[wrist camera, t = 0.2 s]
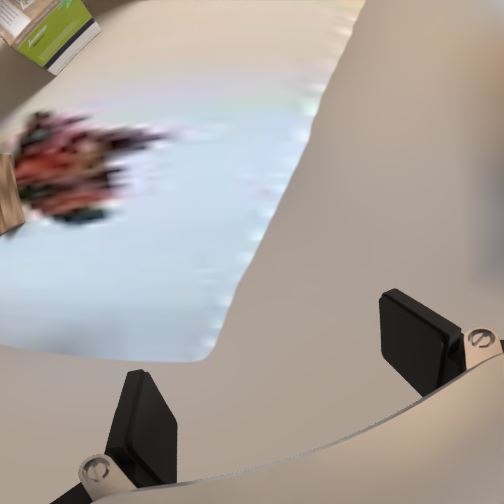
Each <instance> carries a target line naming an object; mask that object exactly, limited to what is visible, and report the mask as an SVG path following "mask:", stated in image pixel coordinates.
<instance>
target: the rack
mask: <svg viewBox="0 0 504 504" xmlns="http://www.w3.org/2000/svg"><path fill="white" fill-rule="evenodd" d="M24 222H25V218H24V214H23V210H22V206H21V202H20V198H19V194H18V189H17V184H16V180H15V174H14V169H13V163H12V157H11V155H3V154H0V234H2V233H4V232H6V231H8V230H10V229H12V228H14V227H16V226H18V225H20V224H22V223H24Z"/></svg>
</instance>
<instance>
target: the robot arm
mask: <svg viewBox="0 0 504 504" xmlns="http://www.w3.org/2000/svg"><path fill="white" fill-rule="evenodd" d="M379 309H380V329H381V352H382V355H383V357H384V359H385V360H386V361H387V362H388V363H389V364H390V365H391V366H392V367H393V368H394V369H395V370H396V371H397V372H398V373H400V375H401V376H402V377H403V378H404V379H405V380H406V381H407V382H408V383H409V384H410V385H411V386H412V387H413V388H414V389H415V390H416V391H417V392H418V393H419V394H420V395H421V396H422V397H423V398H421V399H420V400H418V401H416V402H415V403H413V404H411V405H409V406H408V407H406V408H404V409H402V410H400V411H398V412H397V413H395V414H393V415H391V416H389V417H387V418H385V419H383V420H381V421H379V422H377V423H375V424H373V425H371V426H369V427H366V428H364V429H362V430H360V431H358V432H356V433H353V434H351V435H349V436H346V437H344V438H342V439H339V440H337V441H334V442H332V443H330V444H327V445H324V446H322V447H319V448H316V449H314V450H311V451H308V452H305V453H302V454H299V455H296V456H293V457H290V458H287V459H284V460H281V461H277V462H274V463H270V464H267V465H264V466H260V467H256V468H252V469H248V470H244V471H240V472H235V473H231V474H226V475H221V476H216V477H211V478H206V479H200V480H194V481H188V482H182V483H177V422H176V419H175V417H174V416H173V414H172V412H171V411H170V409H169V407H168V406H167V404H166V402H165V400H164V399H163V397H162V395H161V394H160V392H159V390H158V388H157V386H156V385H155V383H154V381H153V379H152V377H151V375H150V374H149V373H148V372H144V371H143V370H142V369H139V370H135V371H130V372H128V373H127V376H126V379H125V383H124V386H123V389H122V392H121V396H120V400H119V403H118V406H117V409H116V411H115V415H114V418H113V422H112V426H111V430H110V433H109V437H108V441H107V445H106V449H105V453H104V454H97V455H93V456H91V457H89V458H87V459H86V460H85V461H84V462H83V463H82V464H81V466H80V468H79V471H78V476H79V479H80V481H81V482H80V483H79V484H77V485H76V486H75V487H73V488H72V489H70V490H69V491H68V492H66V493H65V494H63V495H62V496H60V497H59V498H58V499H56V500H55V501H53V502H52V503H50V504H504V340H500V339H499V336H498V334H497V332H496V331H494V330H493V329H491V328H489V327H482V326H481V327H480V326H479V327H474V328H472V329H470V330H468V331H467V332H466V333H465V335H464V334H462V333H461V328H460V327H458V326H456V325H455V324H453V323H452V322H450V321H449V320H447V319H445V318H444V317H442V316H440V315H439V314H437V313H435V312H434V311H432V310H431V309H429V308H428V307H426V306H424V305H423V304H421V303H419V302H418V301H416V300H414V299H413V298H411V297H409V296H408V295H406V294H404V293H403V292H401V291H399V290H398V289H395V288H394V289H391V290H389V291H387V292H384V293H383V294H382V297H381V298H380V299H379Z"/></svg>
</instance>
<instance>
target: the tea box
mask: <svg viewBox="0 0 504 504" xmlns="http://www.w3.org/2000/svg"><path fill="white" fill-rule="evenodd" d="M100 31H101V28H100V27H99V25H98V24H97V22H96V21H95V20H94V18H93V17H92V15H91V13H90V12H89V10H88V9H87V8H86V6H85V5H84V3H83V2H82V0H0V37H1V38H2V39H3V40H4V41H5V42H6V43H7V44H8V45H9V46H10V47H11V48H12V49H14V50H15V51H17V52H19V53H20V54H22V55H23V56H25V57H27V58H28V59H30V60H31V61H33V62H35V63H36V64H38V65H39V66H41V67H42V68H44V69H45V70H47V71H49V72H50V73H52V74H54V75H55V76H56V75H58V74H59V73H60V71H61V70H62V69H63V68H64V67H65V66H66V65H67V64H68V63H69V62H70V61H71V60H72V59H73V58H74V57H75V56H76V55H77V54H78V53H79V52H80V51H81V50H82V49H83V48H84V47H85V46H86V45H87V44H88V43H89V42H90V41H91V40H92V39H93V38H94V37H95V36H96V35H97V34H98V33H99V32H100Z"/></svg>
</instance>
